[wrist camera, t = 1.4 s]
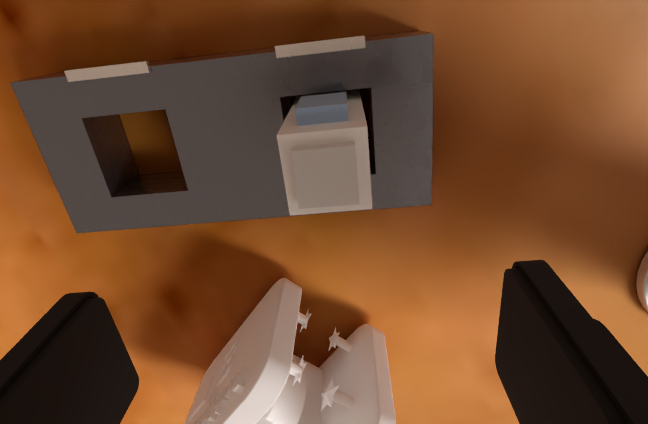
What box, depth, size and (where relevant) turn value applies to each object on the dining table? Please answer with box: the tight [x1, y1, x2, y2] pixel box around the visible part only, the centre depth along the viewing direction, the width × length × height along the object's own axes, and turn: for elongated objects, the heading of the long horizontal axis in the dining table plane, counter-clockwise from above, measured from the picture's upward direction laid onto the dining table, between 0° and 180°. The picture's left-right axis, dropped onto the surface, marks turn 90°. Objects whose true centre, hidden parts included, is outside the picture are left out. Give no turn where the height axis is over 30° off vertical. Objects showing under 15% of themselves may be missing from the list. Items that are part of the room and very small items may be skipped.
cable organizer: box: [185, 278, 396, 424], centre depth 31 cm, size 15×11×12 cm
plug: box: [277, 89, 372, 216], centre depth 22 cm, size 4×5×11 cm
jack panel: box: [11, 31, 434, 233], centre depth 26 cm, size 24×10×4 cm, turn 96°
